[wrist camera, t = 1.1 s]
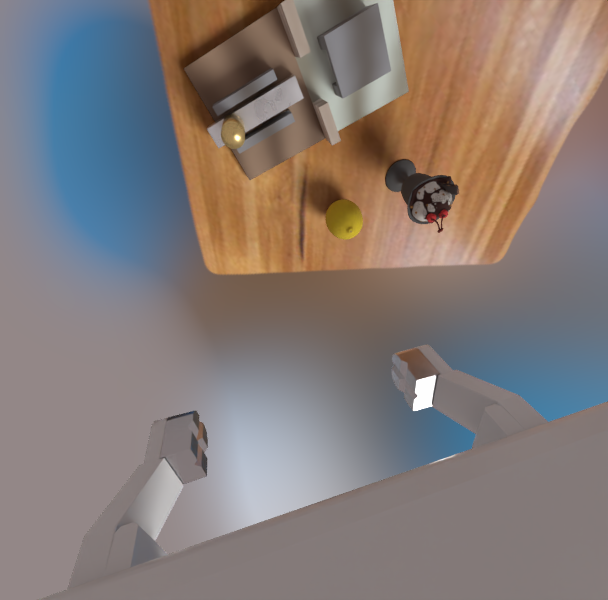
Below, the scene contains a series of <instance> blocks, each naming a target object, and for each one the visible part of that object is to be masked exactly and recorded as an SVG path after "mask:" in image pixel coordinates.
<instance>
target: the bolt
mask: <svg viewBox="0 0 608 600" xmlns="http://www.w3.org/2000/svg"><path fill="white" fill-rule="evenodd" d="M302 99H303V95H302V92H301V90H300V87H299V85H298V82H297V79H296V77H295V75H291V76H289V77H288V78H286V79H284V80H283V81H281V82H280V83H278V84H276V85H275V86H273V87H271V88H270V89H268V90H266V91H265V92H263V93H261V94H260V95H258V96H257V97H255V98H253V99H252V100H250V101H248V102H247V103H245V104H243V105H242V106H240V107H239V108H237V109H235V110H234V111H232V112H230V113H229V114H227V115H225V116H224V117H222V118H220V119H219V120H217V121H216V122H214V123H212V124H211V125H209V126H208V127H207V130H208V132H209V133H210V135H211V137H212V138H213V140H214V141H215V143H216V145H217V146H218V148H220V147H222V146H224V145H226V146H227V147H229V148H232V149H237V148H240V147H241V146H242V145H243V144H244V141H245V133H246V132H247V131H249V130H251V129H252V128H254V127H256V126H258V125H259V124H261V123H263V122H264V121H266V120H268V119H269V118H271V117H273V116H274V115H276V114H278V113H280V112H281V111H283V110H285V109H286V108H288V107H290V106H291V105H293V104H295V103H296V102H298V101H300V100H302Z"/></svg>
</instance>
